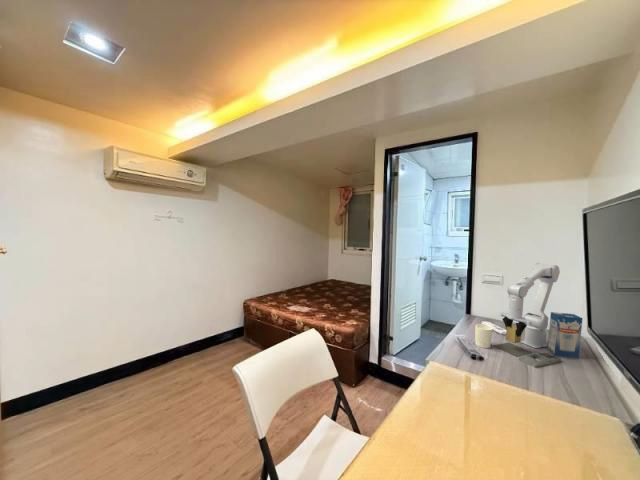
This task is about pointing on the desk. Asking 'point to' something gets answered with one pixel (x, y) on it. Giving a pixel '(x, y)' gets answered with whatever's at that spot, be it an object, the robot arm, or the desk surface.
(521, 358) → the grey plate with hole
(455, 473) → the desk surface
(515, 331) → the brass rectangular block
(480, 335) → the white cup
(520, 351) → the mat
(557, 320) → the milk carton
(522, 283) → the robot arm
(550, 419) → the desk surface
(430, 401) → the desk surface
